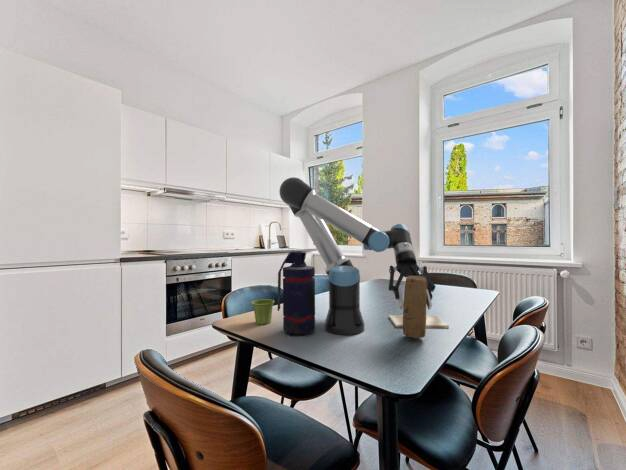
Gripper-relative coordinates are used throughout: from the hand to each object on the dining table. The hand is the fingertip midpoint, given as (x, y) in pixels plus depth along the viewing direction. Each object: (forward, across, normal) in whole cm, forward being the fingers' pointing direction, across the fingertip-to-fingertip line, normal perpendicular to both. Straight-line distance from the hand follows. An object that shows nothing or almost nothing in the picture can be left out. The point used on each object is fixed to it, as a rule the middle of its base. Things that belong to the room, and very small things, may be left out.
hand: (415, 307), depth 104 cm
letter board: (-7, +6, +22) cm, 24 cm away
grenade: (+3, -41, +14) cm, 44 cm away
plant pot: (-4, -56, +22) cm, 61 cm away
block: (+6, 0, +8) cm, 10 cm away
